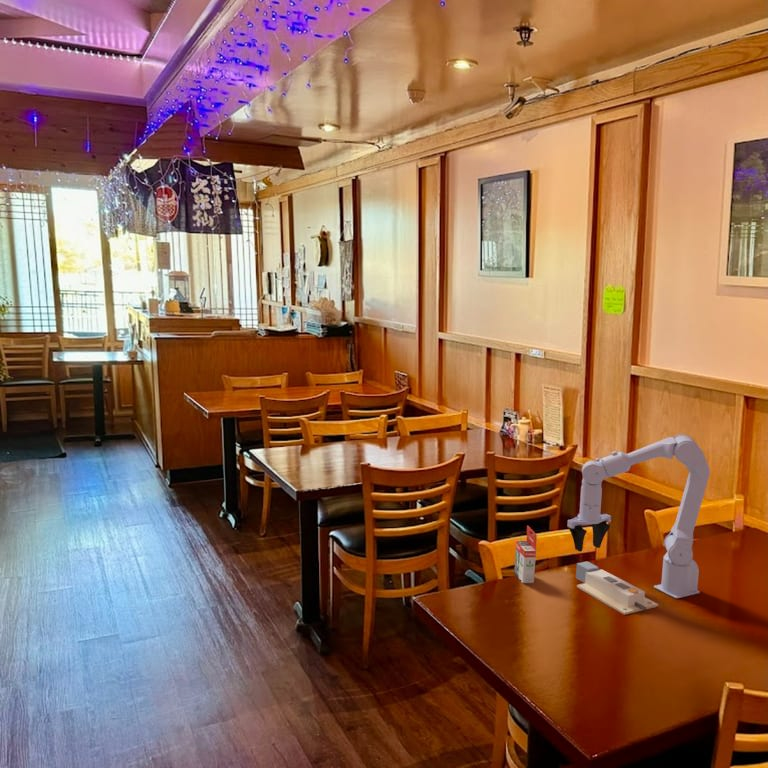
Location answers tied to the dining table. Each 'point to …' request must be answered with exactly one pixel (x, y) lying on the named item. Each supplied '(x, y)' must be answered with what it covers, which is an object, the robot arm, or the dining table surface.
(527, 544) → the ink box
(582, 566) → the charger plug
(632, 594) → the power strip
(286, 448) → the dining table surface
